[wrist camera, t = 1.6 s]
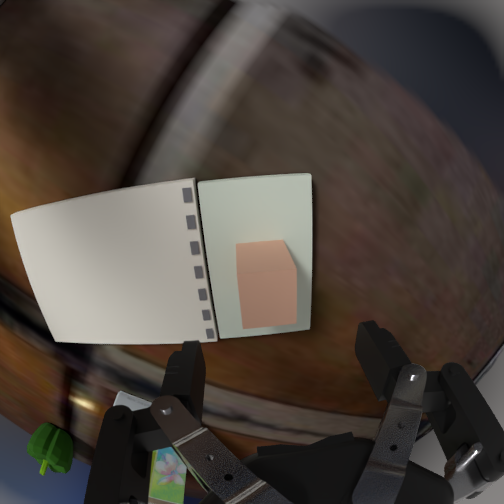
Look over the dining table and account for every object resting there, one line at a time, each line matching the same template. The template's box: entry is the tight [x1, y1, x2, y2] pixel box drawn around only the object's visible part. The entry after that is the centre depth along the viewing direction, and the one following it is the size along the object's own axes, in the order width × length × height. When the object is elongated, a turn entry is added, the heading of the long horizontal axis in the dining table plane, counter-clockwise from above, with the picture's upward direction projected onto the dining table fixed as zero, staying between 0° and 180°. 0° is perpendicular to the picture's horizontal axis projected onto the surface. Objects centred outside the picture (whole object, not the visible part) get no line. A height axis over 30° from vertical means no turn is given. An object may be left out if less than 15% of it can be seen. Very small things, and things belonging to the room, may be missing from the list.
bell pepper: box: [27, 423, 73, 475], centre depth 29 cm, size 8×8×10 cm
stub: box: [198, 173, 312, 339], centre depth 20 cm, size 8×13×6 cm, turn 4°
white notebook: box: [10, 178, 218, 344], centre depth 22 cm, size 18×14×1 cm
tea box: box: [113, 391, 187, 504], centre depth 25 cm, size 15×10×15 cm, turn 154°
